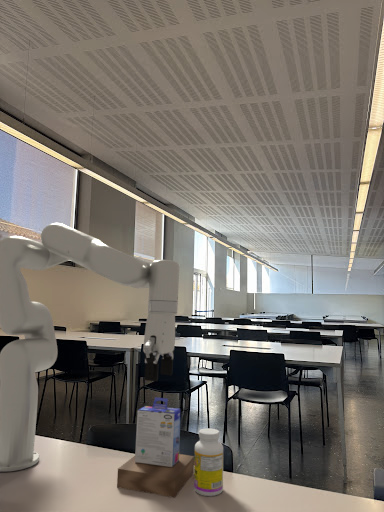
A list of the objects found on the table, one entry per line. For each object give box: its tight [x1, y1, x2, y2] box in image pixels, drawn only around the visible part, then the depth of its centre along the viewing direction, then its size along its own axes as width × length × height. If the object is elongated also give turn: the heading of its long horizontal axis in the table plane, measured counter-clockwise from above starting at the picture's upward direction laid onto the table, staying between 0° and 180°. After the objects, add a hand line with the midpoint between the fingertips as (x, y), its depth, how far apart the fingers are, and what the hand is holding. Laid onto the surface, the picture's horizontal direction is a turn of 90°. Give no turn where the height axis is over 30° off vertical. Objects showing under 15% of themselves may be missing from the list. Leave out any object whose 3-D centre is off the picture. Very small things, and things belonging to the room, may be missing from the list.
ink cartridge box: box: [134, 397, 181, 467], centre depth 95 cm, size 10×6×14 cm, turn 75°
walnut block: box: [116, 453, 195, 498], centre depth 93 cm, size 14×14×4 cm
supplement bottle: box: [193, 428, 224, 497], centre depth 89 cm, size 7×7×13 cm
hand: (158, 377), depth 96 cm, fingers open, 9 cm apart
